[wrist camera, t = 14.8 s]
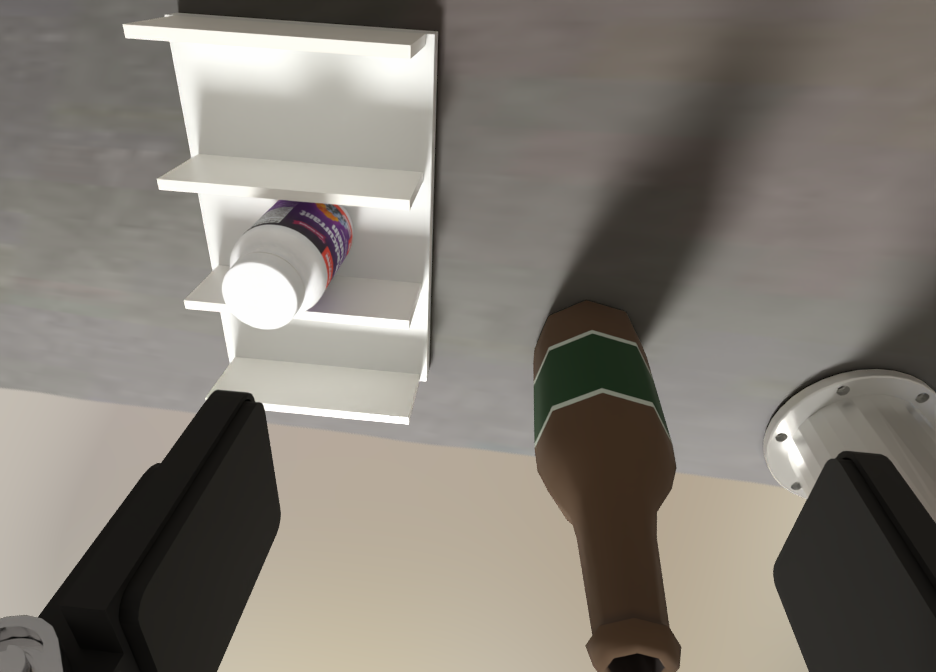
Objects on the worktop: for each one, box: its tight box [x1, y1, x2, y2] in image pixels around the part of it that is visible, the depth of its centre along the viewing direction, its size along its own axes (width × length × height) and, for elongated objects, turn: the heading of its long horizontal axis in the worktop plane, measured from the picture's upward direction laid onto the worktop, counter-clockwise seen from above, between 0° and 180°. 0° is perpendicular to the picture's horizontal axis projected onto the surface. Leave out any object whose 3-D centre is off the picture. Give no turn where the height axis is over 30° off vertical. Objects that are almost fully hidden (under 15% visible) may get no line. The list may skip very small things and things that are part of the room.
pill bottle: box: [222, 200, 354, 329], centre depth 35 cm, size 5×5×10 cm
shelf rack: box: [123, 13, 438, 424], centre depth 38 cm, size 15×23×6 cm, turn 177°
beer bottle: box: [533, 300, 681, 672], centre depth 34 cm, size 8×8×24 cm
